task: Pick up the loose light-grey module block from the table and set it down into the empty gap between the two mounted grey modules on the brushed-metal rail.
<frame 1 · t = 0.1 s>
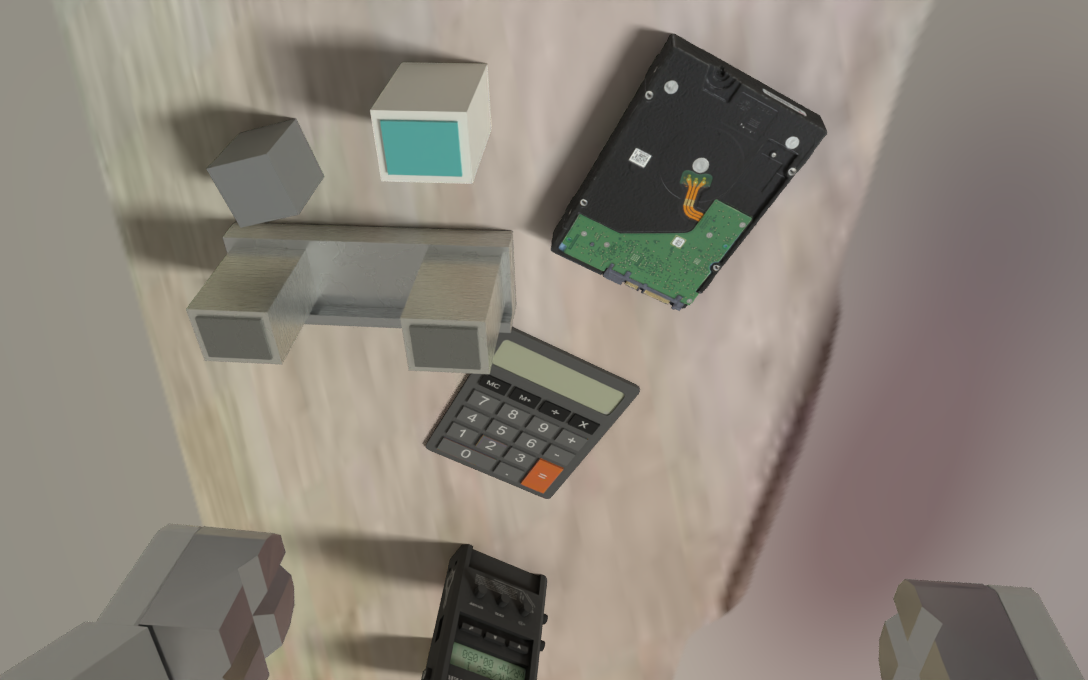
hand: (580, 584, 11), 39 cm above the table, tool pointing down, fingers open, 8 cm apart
calculator: (528, 412, 63), on the table
geiger counter: (503, 566, 76), on the table
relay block: (282, 154, 51), on the table
disk drive: (677, 174, 50), on the table
rail: (378, 264, 55), on the table
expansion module: (447, 96, 47), on the table
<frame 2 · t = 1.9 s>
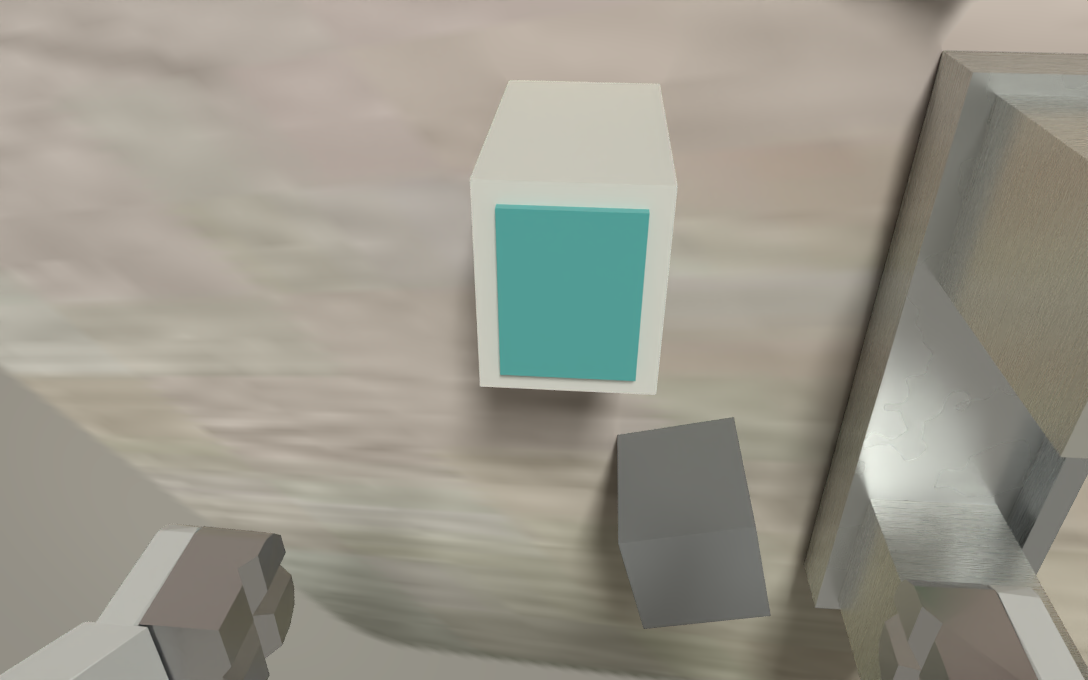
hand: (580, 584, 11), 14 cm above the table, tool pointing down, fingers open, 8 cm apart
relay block: (684, 468, 28), on the table
rail: (956, 365, 25), on the table
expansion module: (581, 171, 23), on the table
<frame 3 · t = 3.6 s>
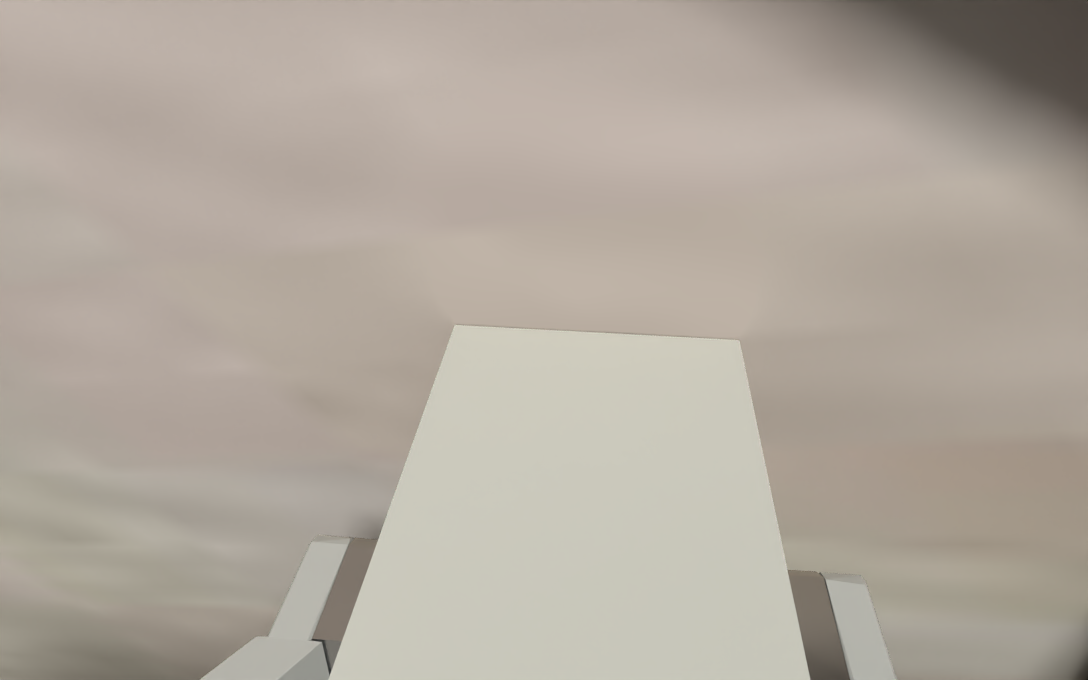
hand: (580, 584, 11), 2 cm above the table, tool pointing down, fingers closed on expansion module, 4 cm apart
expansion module: (588, 466, 13), on the table, touching gripper
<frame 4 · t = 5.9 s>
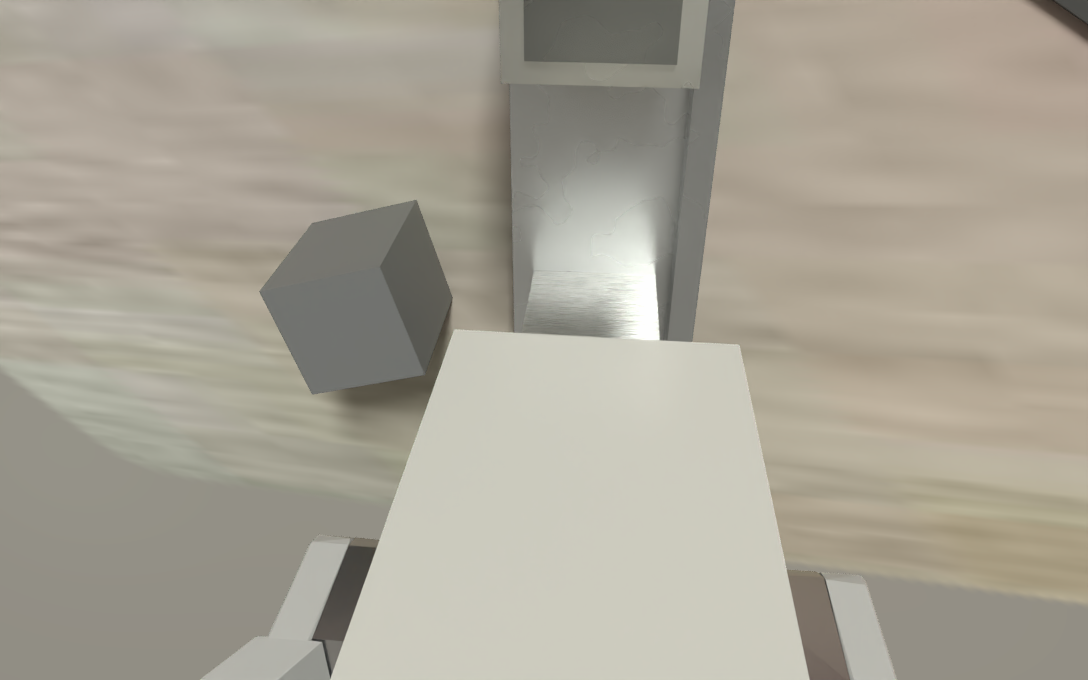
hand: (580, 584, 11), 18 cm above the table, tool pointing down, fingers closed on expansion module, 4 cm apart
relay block: (384, 260, 29), on the table
rail: (610, 134, 26), on the table
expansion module: (588, 471, 13), point 16 cm above the table, touching gripper
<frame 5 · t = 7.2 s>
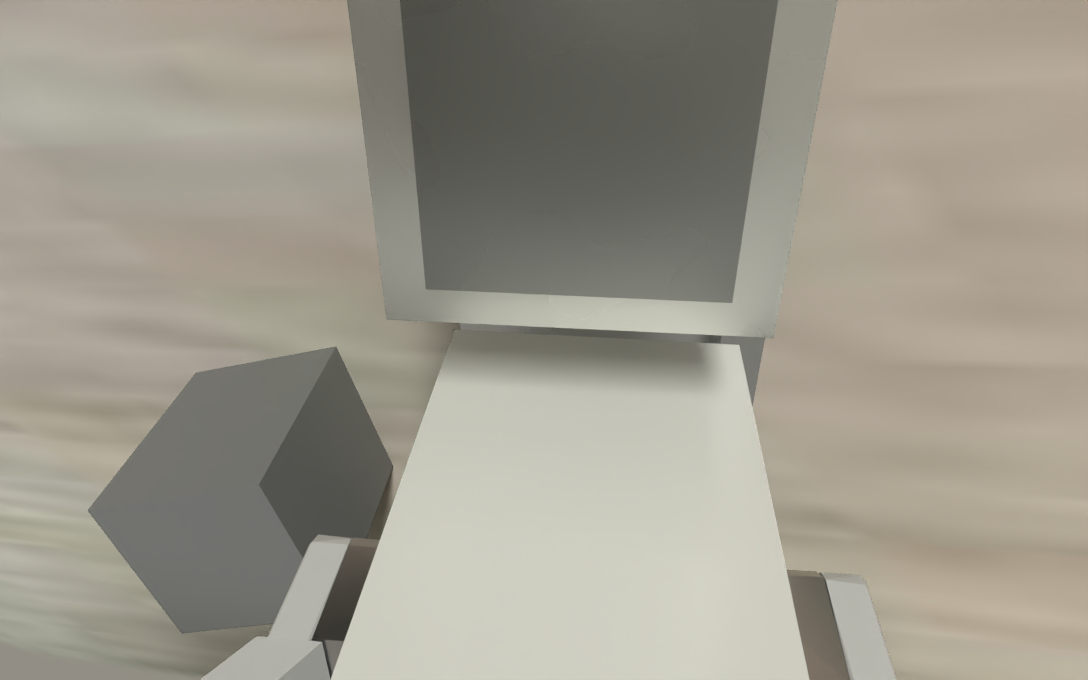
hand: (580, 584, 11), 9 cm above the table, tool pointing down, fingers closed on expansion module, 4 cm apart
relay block: (297, 419, 21), on the table
rail: (606, 267, 18), on the table
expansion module: (588, 471, 13), point 7 cm above the table, touching gripper
when the fingers open (5 cm above the table, at t = 8.1 s): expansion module stays where it is, resting on rail.
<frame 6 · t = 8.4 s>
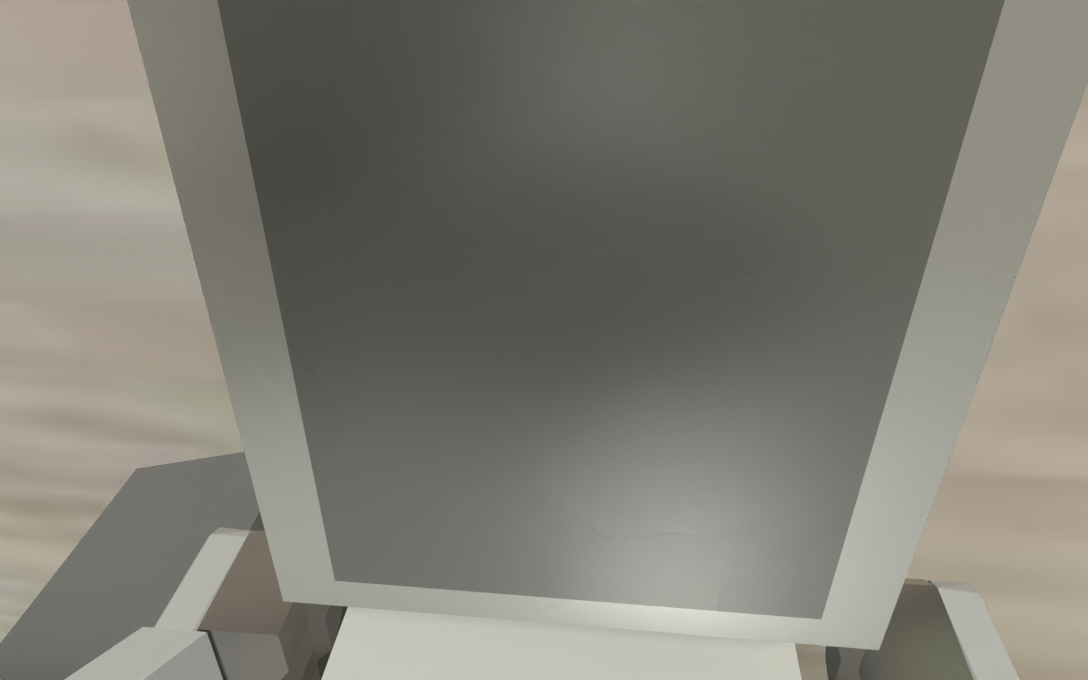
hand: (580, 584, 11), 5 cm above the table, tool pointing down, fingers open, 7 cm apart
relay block: (255, 520, 18), on the table
rail: (613, 364, 15), on the table
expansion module: (586, 429, 13), point 2 cm above the table, touching rail
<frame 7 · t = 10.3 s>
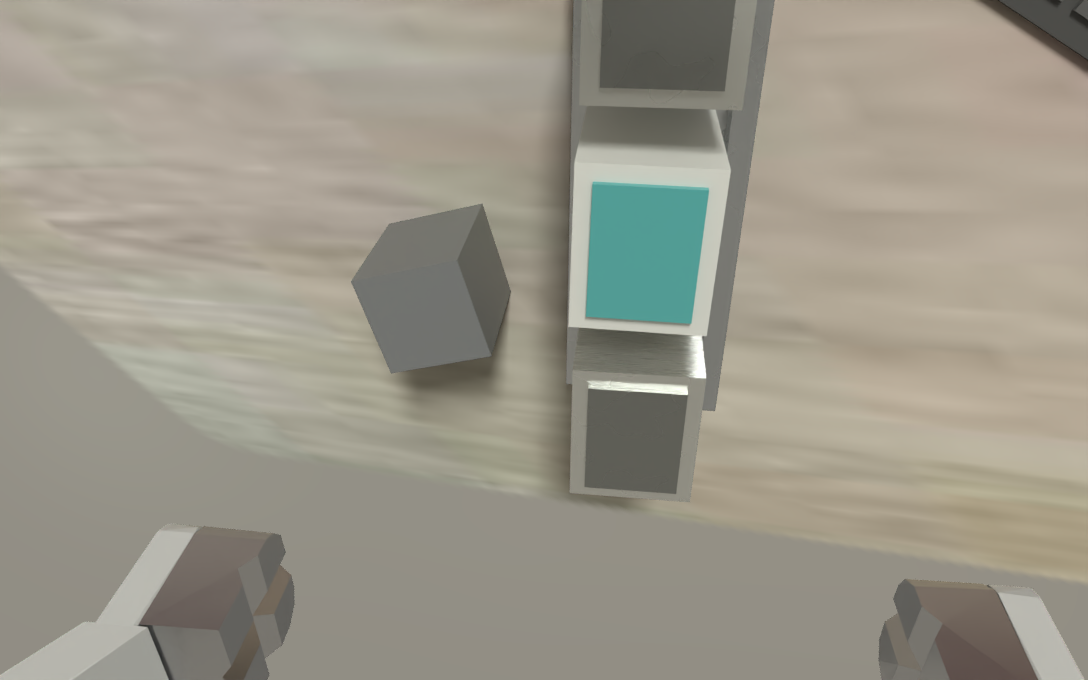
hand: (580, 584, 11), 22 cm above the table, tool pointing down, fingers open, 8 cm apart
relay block: (451, 257, 33), on the table
rail: (655, 147, 29), on the table
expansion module: (644, 165, 28), point 2 cm above the table, touching rail
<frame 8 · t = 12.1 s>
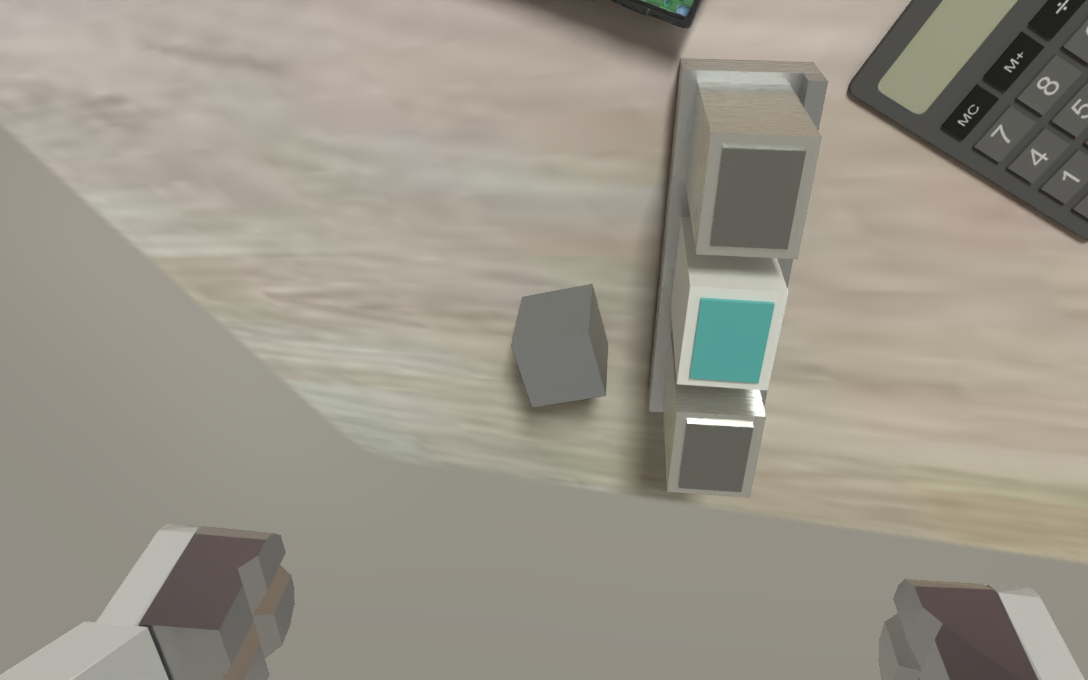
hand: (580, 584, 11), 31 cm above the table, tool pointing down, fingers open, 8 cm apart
calculator: (1063, 54, 36), on the table
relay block: (565, 320, 45), on the table
rail: (720, 247, 42), on the table
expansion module: (715, 264, 40), point 2 cm above the table, touching rail
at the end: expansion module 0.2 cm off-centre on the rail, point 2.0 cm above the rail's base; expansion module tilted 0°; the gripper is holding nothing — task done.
